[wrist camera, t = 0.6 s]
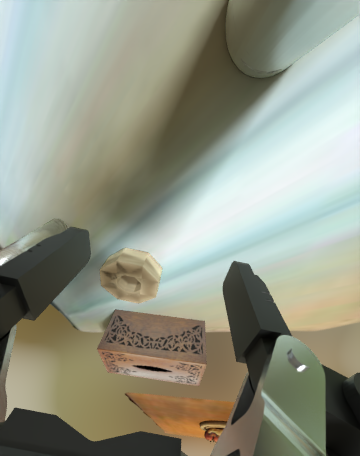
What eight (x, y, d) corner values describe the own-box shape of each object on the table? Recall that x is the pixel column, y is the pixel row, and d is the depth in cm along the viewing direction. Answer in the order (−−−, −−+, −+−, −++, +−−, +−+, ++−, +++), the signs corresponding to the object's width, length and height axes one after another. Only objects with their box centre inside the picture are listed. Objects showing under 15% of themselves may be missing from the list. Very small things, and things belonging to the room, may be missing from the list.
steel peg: (49, 217, 31) (-45, 269, 19) (65, 220, 31) (-18, 275, 19) (53, 230, 32) (-32, 286, 21) (68, 233, 33) (-7, 291, 21)
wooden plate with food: (221, 417, 95) (223, 439, 88) (259, 430, 102) (264, 452, 95) (190, 421, 111) (190, 440, 104) (225, 432, 117) (227, 451, 110)
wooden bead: (108, 244, 33) (98, 256, 30) (164, 256, 33) (161, 270, 30) (110, 281, 39) (102, 295, 36) (157, 291, 39) (154, 306, 36)
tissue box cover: (122, 333, 53) (107, 372, 45) (115, 308, 46) (97, 348, 37) (198, 344, 52) (198, 385, 43) (204, 320, 44) (206, 364, 36)
